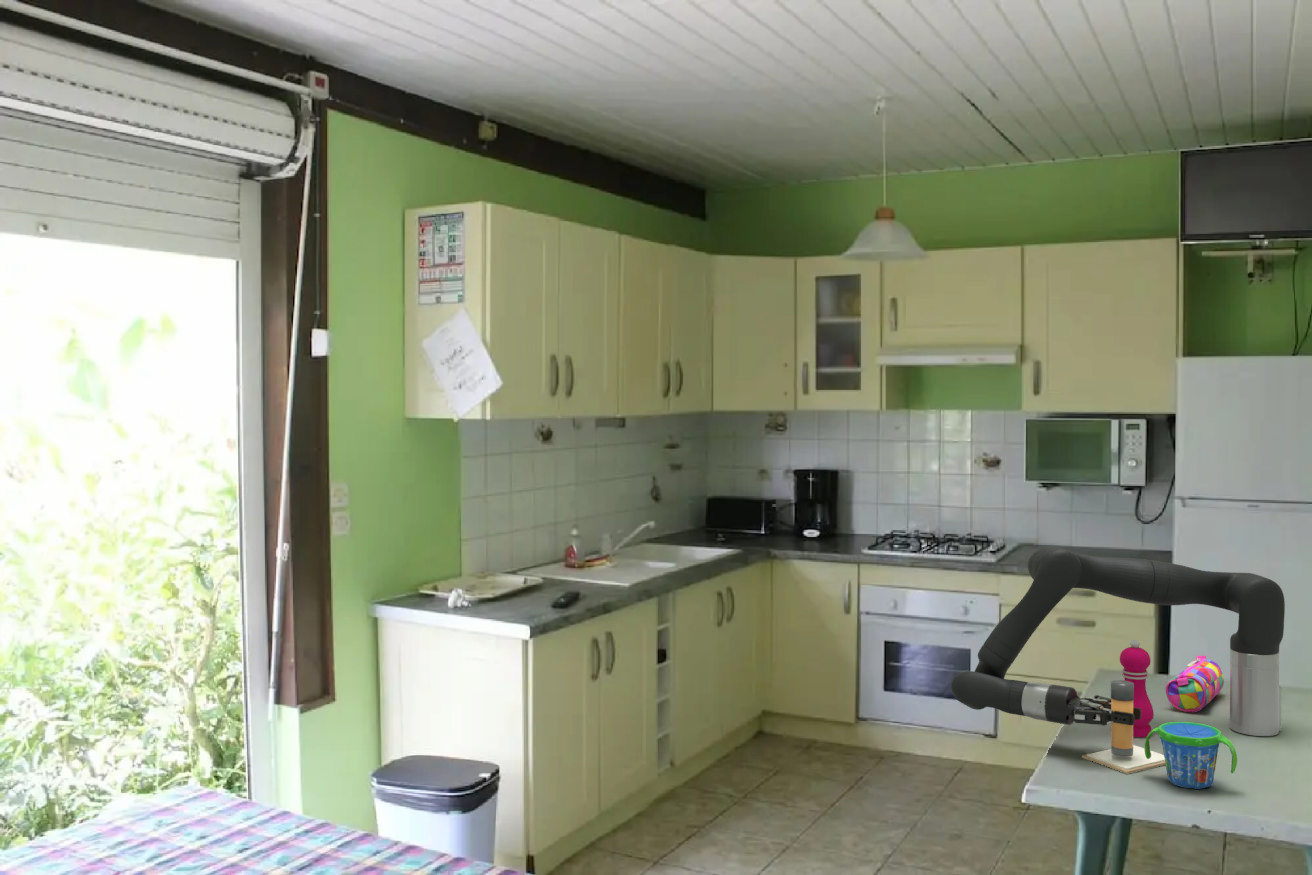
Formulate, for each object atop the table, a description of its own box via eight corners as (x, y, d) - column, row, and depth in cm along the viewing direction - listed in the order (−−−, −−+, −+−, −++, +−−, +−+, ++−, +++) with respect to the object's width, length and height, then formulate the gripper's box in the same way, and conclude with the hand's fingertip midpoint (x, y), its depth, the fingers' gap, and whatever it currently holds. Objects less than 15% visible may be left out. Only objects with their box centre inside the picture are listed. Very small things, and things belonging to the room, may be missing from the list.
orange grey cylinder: (1121, 748, 223) (1121, 679, 223) (1138, 754, 220) (1138, 683, 219) (1105, 751, 222) (1105, 681, 221) (1123, 757, 218) (1123, 686, 217)
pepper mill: (1143, 740, 233) (1143, 645, 233) (1110, 732, 239) (1110, 640, 238) (1160, 733, 238) (1159, 640, 237) (1127, 725, 244) (1127, 634, 243)
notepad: (1131, 746, 230) (1131, 742, 230) (1177, 762, 220) (1177, 758, 220) (1081, 757, 223) (1081, 753, 223) (1127, 774, 214) (1127, 770, 214)
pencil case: (1182, 689, 272) (1181, 652, 272) (1224, 694, 267) (1224, 657, 266) (1164, 711, 254) (1163, 672, 254) (1209, 717, 249) (1209, 677, 249)
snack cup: (1135, 780, 210) (1135, 727, 210) (1157, 766, 217) (1157, 715, 217) (1224, 801, 199) (1225, 744, 198) (1244, 785, 206) (1244, 731, 206)
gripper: (1036, 692, 224) (1126, 706, 213) (1061, 677, 235) (1147, 689, 224) (1037, 729, 224) (1126, 745, 213) (1061, 712, 235) (1147, 726, 224)
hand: (1136, 716), depth 219 cm, fingers closed on orange grey cylinder, 3 cm apart
